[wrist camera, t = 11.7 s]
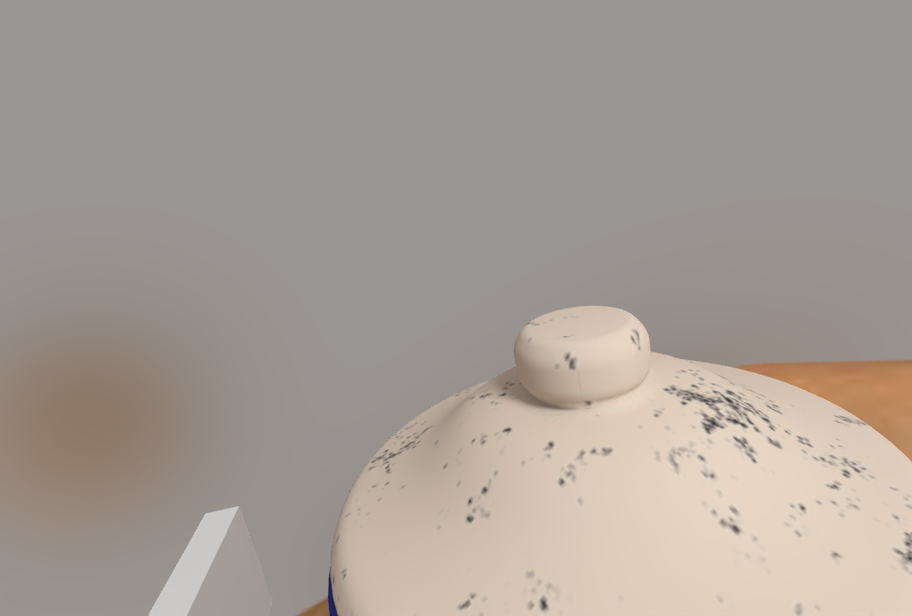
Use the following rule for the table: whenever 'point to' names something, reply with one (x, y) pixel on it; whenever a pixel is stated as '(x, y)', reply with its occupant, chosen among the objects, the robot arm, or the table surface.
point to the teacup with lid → (626, 493)
